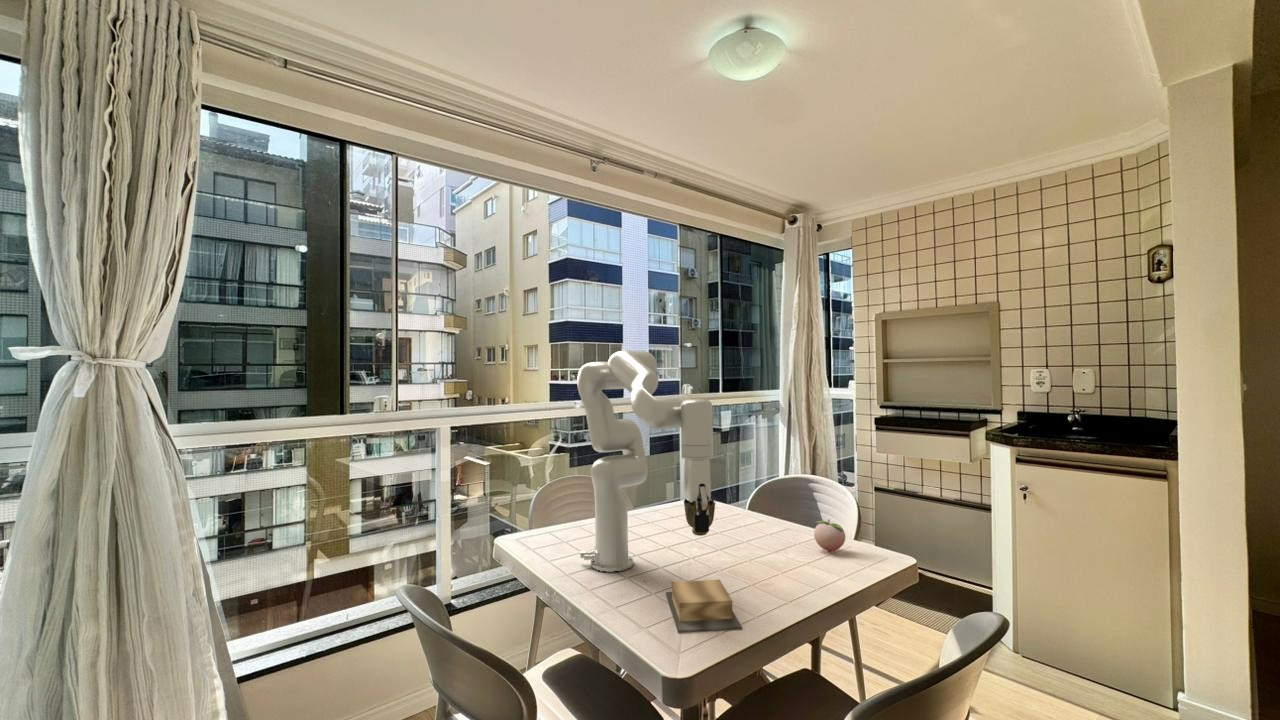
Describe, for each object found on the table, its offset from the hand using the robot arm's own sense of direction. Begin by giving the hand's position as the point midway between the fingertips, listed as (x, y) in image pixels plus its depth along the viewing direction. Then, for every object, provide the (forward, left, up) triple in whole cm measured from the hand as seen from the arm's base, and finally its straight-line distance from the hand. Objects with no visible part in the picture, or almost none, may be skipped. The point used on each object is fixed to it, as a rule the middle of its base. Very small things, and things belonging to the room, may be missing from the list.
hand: (698, 526), depth 121 cm
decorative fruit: (+47, +34, -20) cm, 61 cm away
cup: (0, 0, -2) cm, 2 cm away
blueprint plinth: (0, 0, -19) cm, 19 cm away
